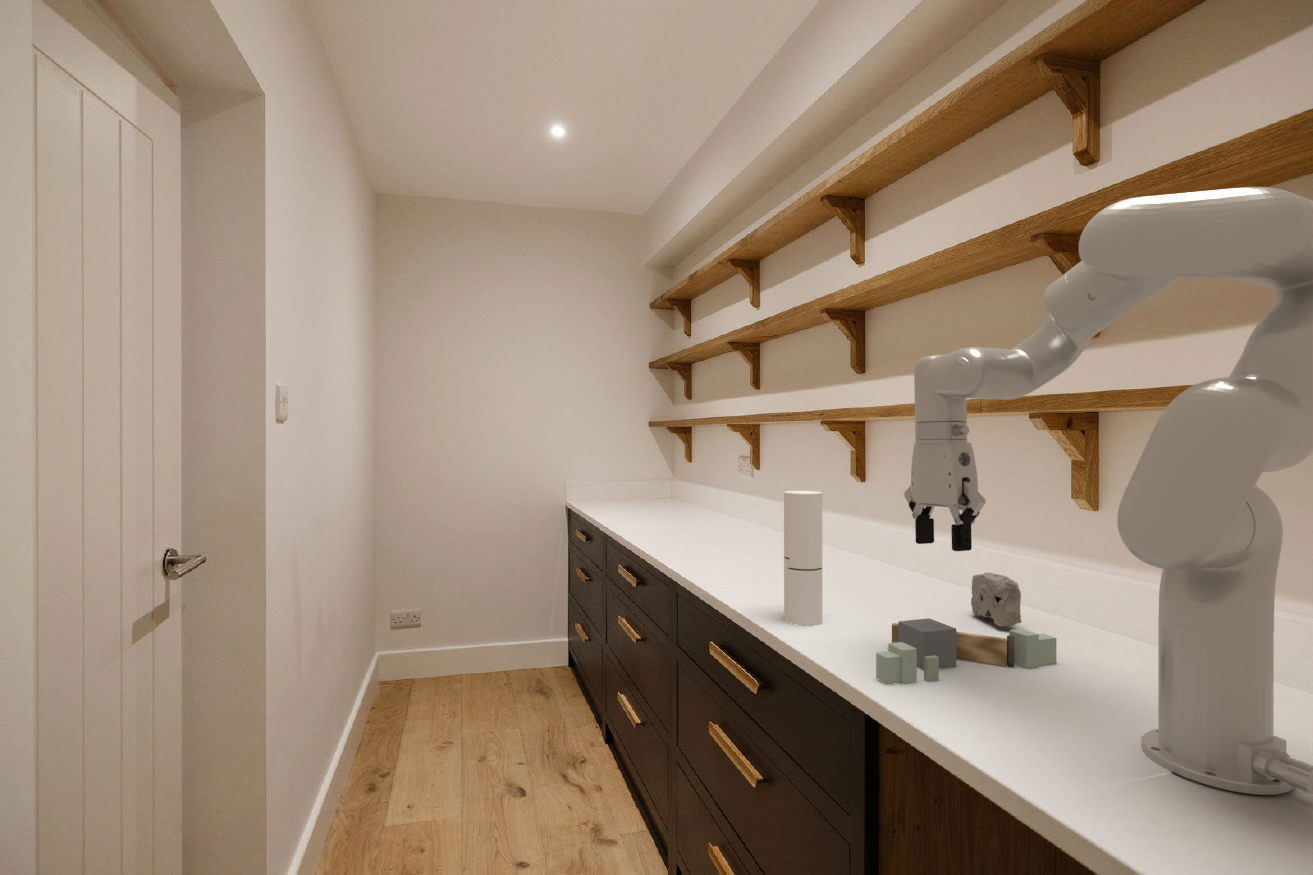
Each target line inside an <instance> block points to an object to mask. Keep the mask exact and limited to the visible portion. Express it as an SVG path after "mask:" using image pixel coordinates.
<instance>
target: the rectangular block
mask: <svg viewBox="0 0 1313 875" xmlns="http://www.w3.org/2000/svg"><path fill="white" fill-rule="evenodd" d="M897 624H898V642H903V643H905V644H908V645H910V646H912V647H914V648H916V649H917V668H918V669H920V670H922V671H924V657H926V656H935V655H936V656H938V657H939V670H940V669H949V668H950V669H951V668H956V667H957V659H956V632H957V628H956V627H952V626H950V625H947V624H945V623H943V622H940V621H937V620H935V619H932V618H929V617H928V618H920V619H910V620H908V619H907V620H900V621H898V622H897Z"/></svg>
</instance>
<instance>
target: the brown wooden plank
mask: <svg viewBox="0 0 1313 875" xmlns="http://www.w3.org/2000/svg"><path fill="white" fill-rule="evenodd" d="M897 642H898V622H892V623H891V643H897ZM957 659H958V660H963V661H968V662H974V663H981V664H986V665H987V664H988V665H995V666H1002V667H1009V668H1015V664H1014V636H1011V635H1006V638H1005V637H998V636H990V635H985V634H984V635H982V634H975V633H970V632H969V633H968V632H963V631H961V632H959V631H956V660H957Z"/></svg>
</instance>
